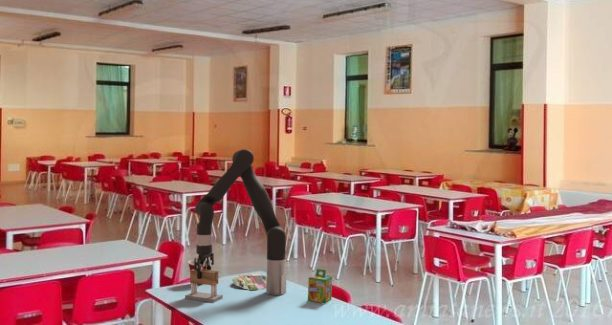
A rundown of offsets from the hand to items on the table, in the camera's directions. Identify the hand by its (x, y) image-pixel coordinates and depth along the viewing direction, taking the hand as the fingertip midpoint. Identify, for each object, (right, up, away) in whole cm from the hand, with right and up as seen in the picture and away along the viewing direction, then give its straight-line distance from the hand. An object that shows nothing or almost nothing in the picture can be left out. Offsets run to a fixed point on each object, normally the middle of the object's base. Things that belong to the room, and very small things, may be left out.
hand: (204, 276), depth 290 cm
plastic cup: (-8, -9, +27) cm, 30 cm away
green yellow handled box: (+56, -12, +1) cm, 57 cm away
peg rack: (0, -11, +1) cm, 11 cm away
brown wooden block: (0, -3, 0) cm, 3 cm away
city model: (+22, -10, +28) cm, 37 cm away
